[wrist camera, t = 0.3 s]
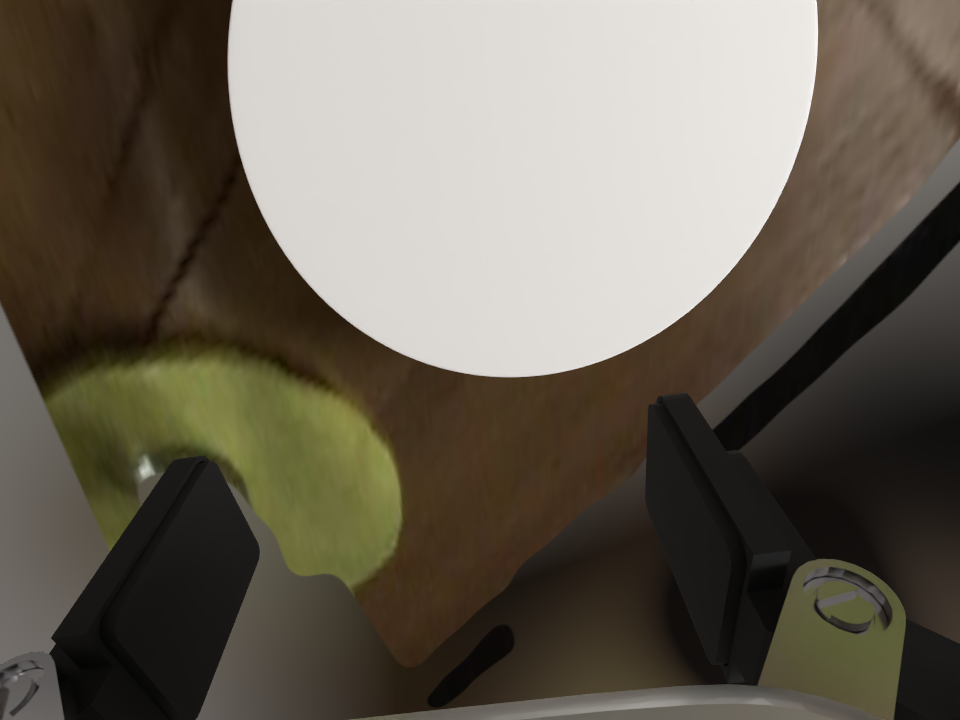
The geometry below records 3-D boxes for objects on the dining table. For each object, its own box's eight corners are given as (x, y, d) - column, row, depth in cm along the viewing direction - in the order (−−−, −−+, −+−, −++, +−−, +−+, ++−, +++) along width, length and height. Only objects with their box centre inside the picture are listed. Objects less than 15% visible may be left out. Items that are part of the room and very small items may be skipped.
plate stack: (751, 209, 40) (847, 262, 30) (422, 352, 45) (412, 438, 35) (648, -297, 27) (761, -500, 17) (199, -9, 32) (83, -34, 22)
